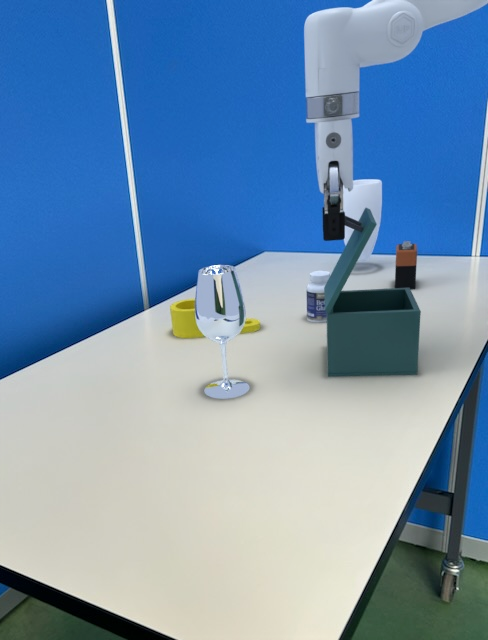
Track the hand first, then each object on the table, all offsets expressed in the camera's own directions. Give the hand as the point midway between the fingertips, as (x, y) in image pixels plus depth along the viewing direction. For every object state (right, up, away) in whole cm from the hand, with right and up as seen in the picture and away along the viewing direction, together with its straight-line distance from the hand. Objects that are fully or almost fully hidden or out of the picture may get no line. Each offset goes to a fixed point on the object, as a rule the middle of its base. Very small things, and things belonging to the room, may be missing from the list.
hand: (333, 234), depth 98 cm
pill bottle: (+4, -10, +31) cm, 32 cm away
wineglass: (-16, -25, +4) cm, 30 cm away
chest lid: (+3, -4, +1) cm, 5 cm away
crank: (-17, -12, +31) cm, 37 cm away
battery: (+27, 0, +45) cm, 52 cm away
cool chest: (+8, -20, +8) cm, 23 cm away
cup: (+21, +7, +62) cm, 66 cm away
